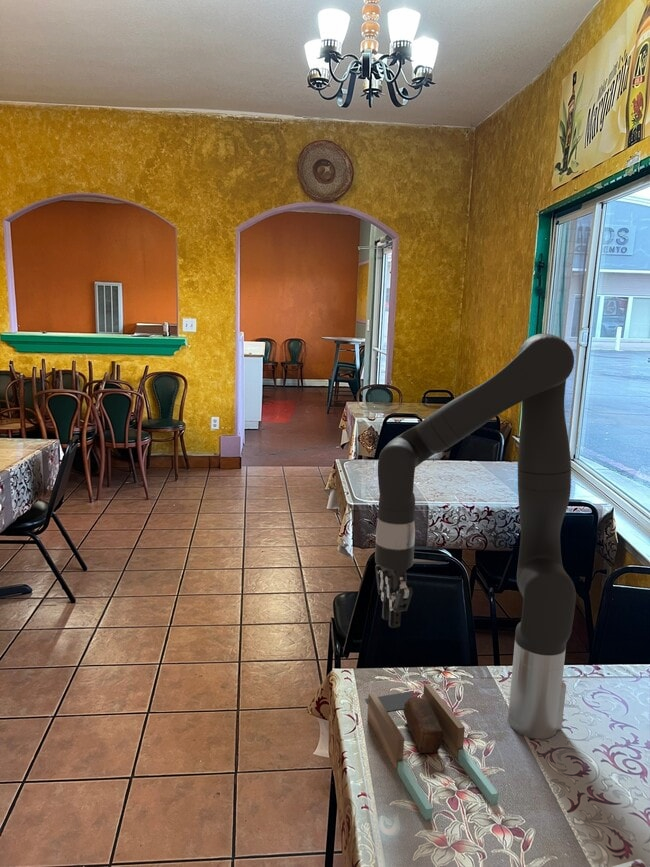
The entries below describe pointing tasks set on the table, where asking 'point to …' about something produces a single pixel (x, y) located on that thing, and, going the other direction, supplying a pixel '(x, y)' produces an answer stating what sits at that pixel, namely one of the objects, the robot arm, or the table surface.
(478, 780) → the bay
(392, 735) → the trench
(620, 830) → the table surface
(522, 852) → the table surface
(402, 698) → the pad
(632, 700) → the table surface
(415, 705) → the brick
